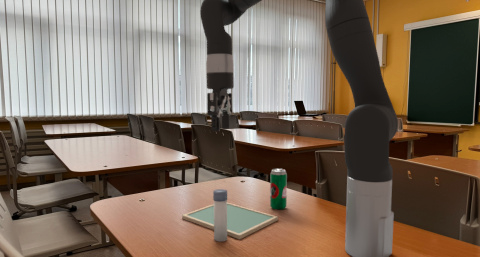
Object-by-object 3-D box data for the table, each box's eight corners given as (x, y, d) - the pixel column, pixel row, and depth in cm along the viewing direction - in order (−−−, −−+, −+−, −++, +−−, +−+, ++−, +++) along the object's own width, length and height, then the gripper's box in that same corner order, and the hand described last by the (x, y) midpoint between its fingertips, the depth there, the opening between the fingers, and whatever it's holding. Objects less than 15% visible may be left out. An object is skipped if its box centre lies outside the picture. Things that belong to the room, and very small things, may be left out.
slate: (277, 220, 96) (277, 216, 96) (239, 239, 84) (239, 235, 84) (222, 204, 110) (222, 201, 110) (182, 218, 98) (182, 215, 98)
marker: (230, 238, 84) (230, 190, 83) (220, 243, 82) (220, 194, 81) (220, 234, 87) (220, 188, 85) (210, 239, 84) (210, 191, 83)
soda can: (285, 211, 104) (286, 172, 102) (269, 209, 105) (269, 171, 103) (287, 205, 109) (287, 168, 107) (271, 204, 110) (271, 167, 108)
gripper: (224, 69, 87) (225, 132, 89) (240, 72, 101) (240, 127, 102) (197, 70, 89) (198, 132, 91) (216, 73, 103) (217, 127, 104)
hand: (221, 129), depth 97 cm, fingers open, 8 cm apart
